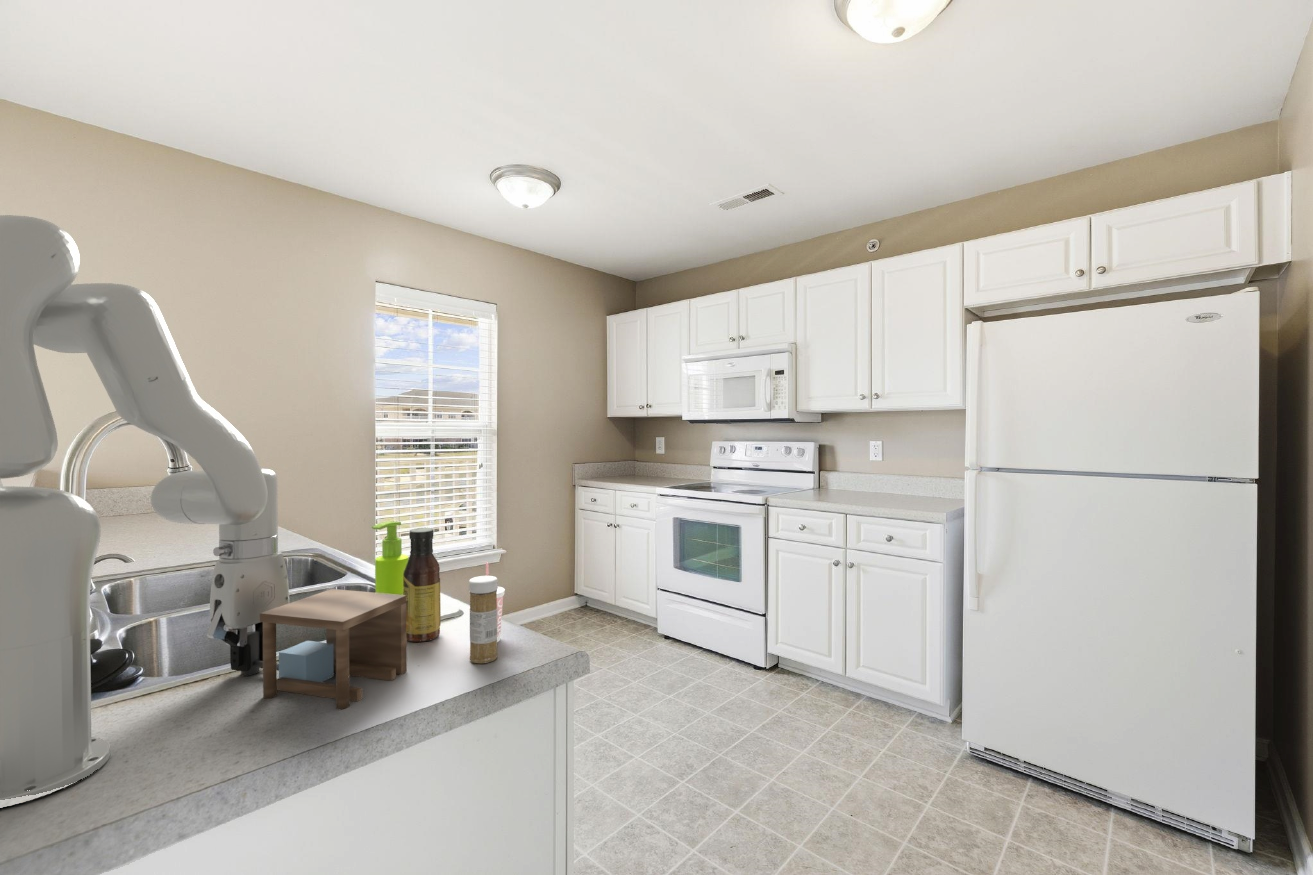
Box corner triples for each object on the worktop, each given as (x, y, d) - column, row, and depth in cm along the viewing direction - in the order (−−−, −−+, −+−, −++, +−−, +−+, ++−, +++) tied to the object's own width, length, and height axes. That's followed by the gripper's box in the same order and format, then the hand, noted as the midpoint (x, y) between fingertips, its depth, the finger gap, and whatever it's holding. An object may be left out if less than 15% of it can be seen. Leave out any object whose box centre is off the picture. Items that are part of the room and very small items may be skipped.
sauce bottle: (409, 632, 110) (409, 526, 110) (444, 631, 111) (444, 525, 111) (398, 645, 104) (398, 532, 103) (435, 643, 104) (435, 531, 104)
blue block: (306, 690, 86) (305, 649, 86) (228, 677, 90) (228, 638, 90) (333, 676, 91) (333, 637, 91) (259, 665, 95) (258, 628, 95)
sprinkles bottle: (490, 651, 101) (490, 573, 101) (502, 660, 97) (502, 578, 97) (464, 658, 98) (464, 577, 98) (475, 667, 94) (475, 583, 94)
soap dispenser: (363, 629, 112) (363, 523, 111) (392, 618, 118) (392, 518, 118) (387, 633, 109) (387, 526, 109) (415, 622, 116) (415, 520, 116)
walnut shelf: (343, 709, 80) (342, 621, 80) (260, 697, 83) (259, 613, 83) (406, 671, 93) (406, 595, 92) (332, 662, 96) (331, 588, 96)
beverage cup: (489, 648, 102) (489, 568, 102) (461, 643, 105) (461, 564, 104) (511, 637, 108) (511, 560, 108) (484, 632, 110) (484, 557, 110)
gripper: (217, 561, 83) (218, 691, 83) (311, 540, 98) (312, 649, 99) (176, 557, 85) (178, 684, 85) (275, 537, 100) (276, 645, 101)
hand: (250, 664), depth 92 cm, fingers closed on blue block, 2 cm apart
